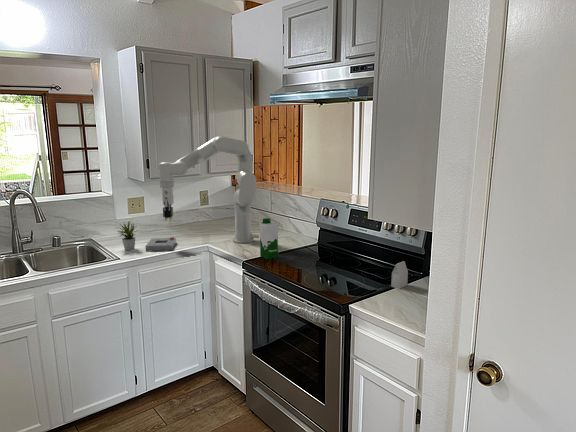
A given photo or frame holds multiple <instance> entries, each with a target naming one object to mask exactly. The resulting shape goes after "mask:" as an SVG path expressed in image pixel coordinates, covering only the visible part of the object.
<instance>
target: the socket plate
mask: <svg viewBox="0 0 576 432" xmlns="http://www.w3.org/2000/svg"><path fill="white" fill-rule="evenodd" d="M176 244H177V238H176V237H175V236H170V237H159V238H158V237H157V238H155V237H154V238H151V239H149V241H148V242H147V243H146V245H145V252H161V251H163V252H164V251H165V252H166V251H172V250H173V249H174V248H175V245H176Z"/></svg>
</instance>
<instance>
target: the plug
mask: <svg viewBox="0 0 576 432" xmlns="http://www.w3.org/2000/svg"><path fill="white" fill-rule="evenodd" d="M164 211H165V206H163V207H162V217H163V218H164V221H165V222H167V221H168V220H169V222H172V221H173V216H174V207H173V206H171V207H170V212H171V217H170V218H165V213H164Z"/></svg>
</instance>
